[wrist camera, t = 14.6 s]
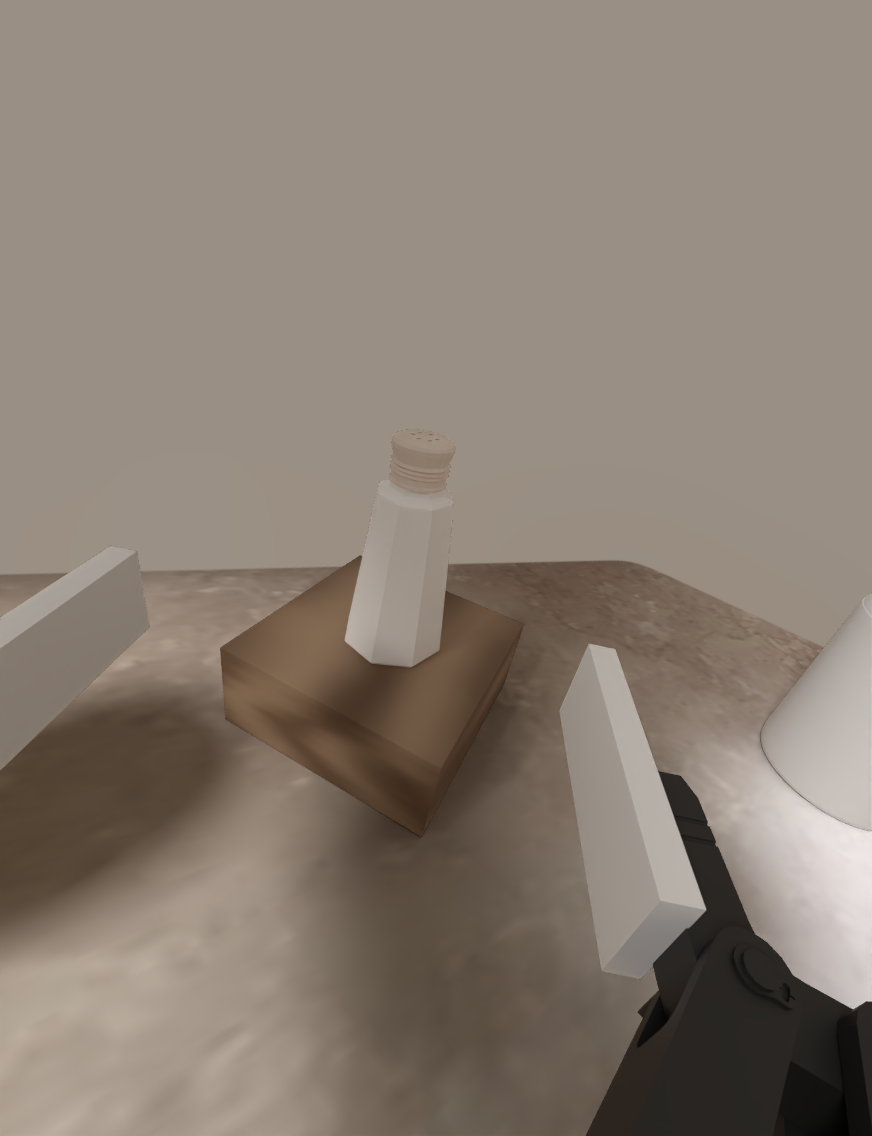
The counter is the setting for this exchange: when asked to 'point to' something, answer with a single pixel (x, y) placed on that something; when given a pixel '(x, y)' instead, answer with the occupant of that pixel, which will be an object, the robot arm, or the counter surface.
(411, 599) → the pepper shaker
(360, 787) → the walnut base
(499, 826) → the counter surface
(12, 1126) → the counter surface
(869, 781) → the pill bottle
